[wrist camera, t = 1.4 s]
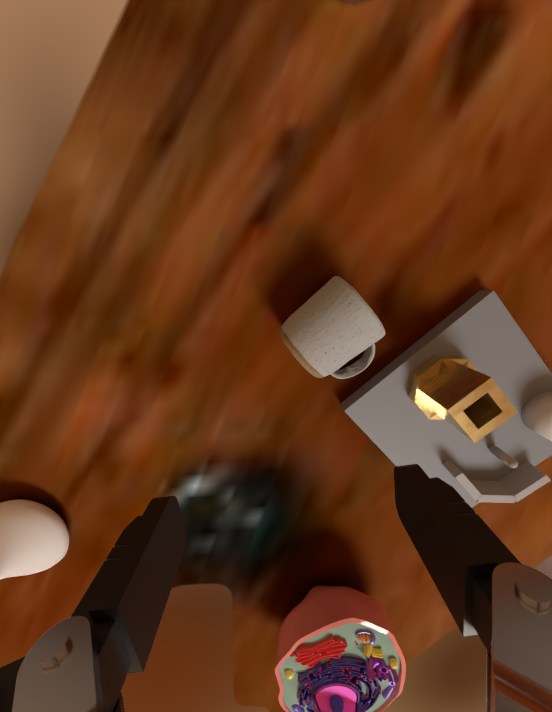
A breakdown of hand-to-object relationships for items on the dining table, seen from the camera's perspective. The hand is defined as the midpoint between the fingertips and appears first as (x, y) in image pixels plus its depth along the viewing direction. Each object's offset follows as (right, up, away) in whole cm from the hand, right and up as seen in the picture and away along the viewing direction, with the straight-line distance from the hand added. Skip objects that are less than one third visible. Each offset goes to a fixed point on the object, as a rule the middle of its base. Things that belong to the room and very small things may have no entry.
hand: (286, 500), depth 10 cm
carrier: (+22, -2, +24) cm, 33 cm away
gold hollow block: (+18, +2, +21) cm, 28 cm away
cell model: (+8, -33, +33) cm, 47 cm away
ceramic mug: (+6, +8, +22) cm, 24 cm away
